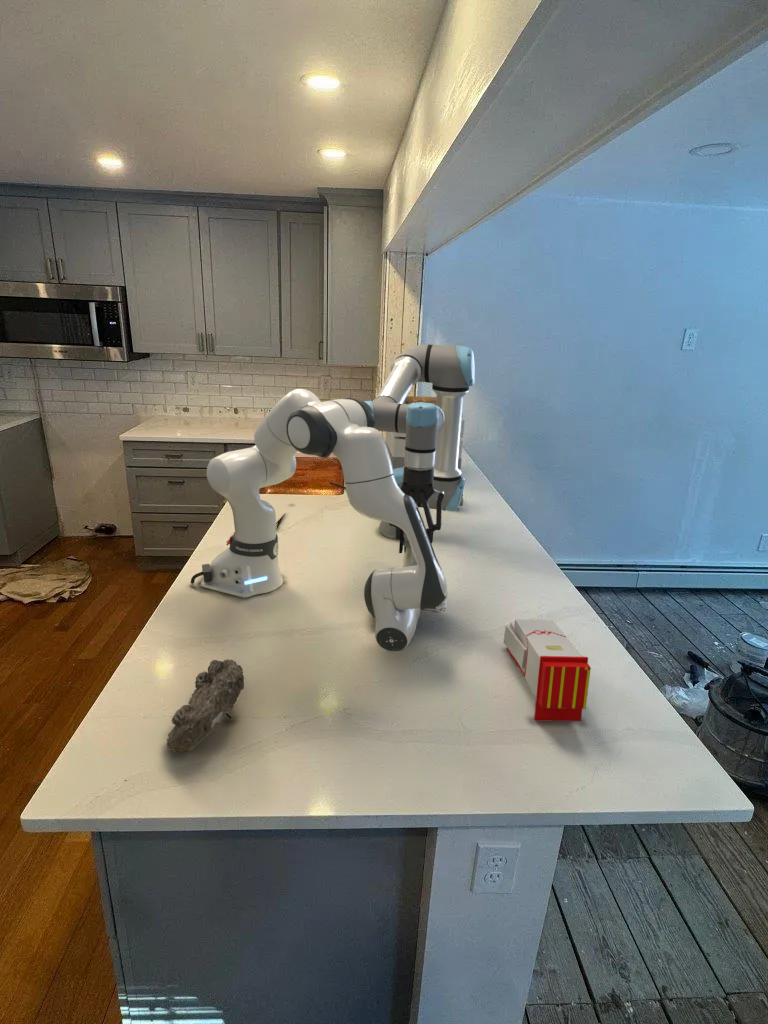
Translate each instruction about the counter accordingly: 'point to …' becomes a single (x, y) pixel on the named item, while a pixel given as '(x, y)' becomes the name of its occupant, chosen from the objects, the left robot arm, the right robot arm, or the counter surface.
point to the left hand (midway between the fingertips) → (411, 581)
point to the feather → (279, 521)
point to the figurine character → (461, 501)
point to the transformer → (398, 440)
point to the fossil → (206, 705)
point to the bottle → (409, 557)
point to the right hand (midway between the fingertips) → (413, 552)
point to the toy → (549, 668)
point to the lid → (406, 541)
